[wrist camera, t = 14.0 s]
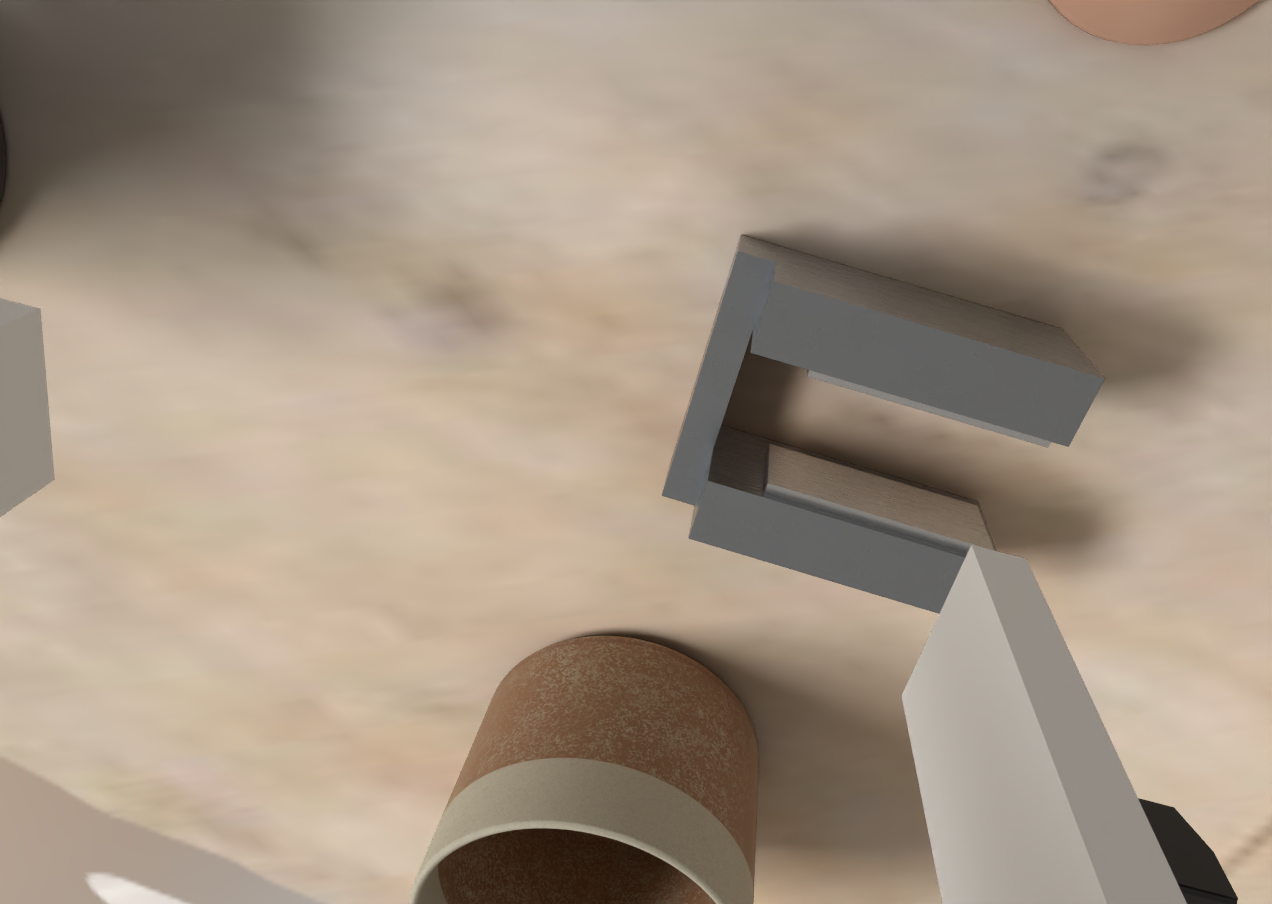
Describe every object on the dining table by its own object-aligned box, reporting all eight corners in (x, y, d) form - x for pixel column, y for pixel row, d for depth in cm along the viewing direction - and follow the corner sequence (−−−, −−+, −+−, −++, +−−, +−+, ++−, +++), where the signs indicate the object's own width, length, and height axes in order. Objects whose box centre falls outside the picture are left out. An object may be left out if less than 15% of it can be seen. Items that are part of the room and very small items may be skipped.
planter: (460, 636, 53) (361, 827, 41) (737, 616, 50) (721, 818, 37) (526, 840, 59) (458, 1059, 47) (776, 834, 56) (772, 1068, 44)
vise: (669, 467, 46) (653, 527, 41) (741, 234, 41) (734, 269, 35) (952, 552, 46) (974, 624, 41) (1063, 329, 41) (1105, 378, 35)
